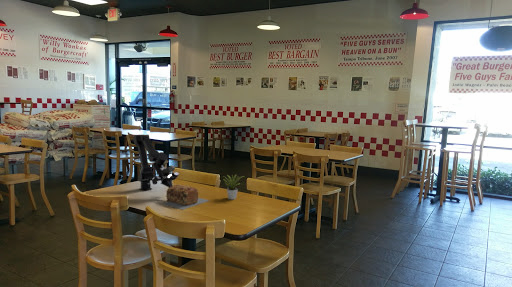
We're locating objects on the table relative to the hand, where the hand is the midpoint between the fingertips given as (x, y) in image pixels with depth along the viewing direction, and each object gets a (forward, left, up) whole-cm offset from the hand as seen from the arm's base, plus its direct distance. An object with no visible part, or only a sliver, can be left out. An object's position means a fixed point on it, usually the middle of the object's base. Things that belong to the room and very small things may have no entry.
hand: (172, 188), depth 230 cm
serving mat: (+12, 0, -7) cm, 14 cm away
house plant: (+29, +27, -7) cm, 40 cm away
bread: (+9, -1, -7) cm, 12 cm away
